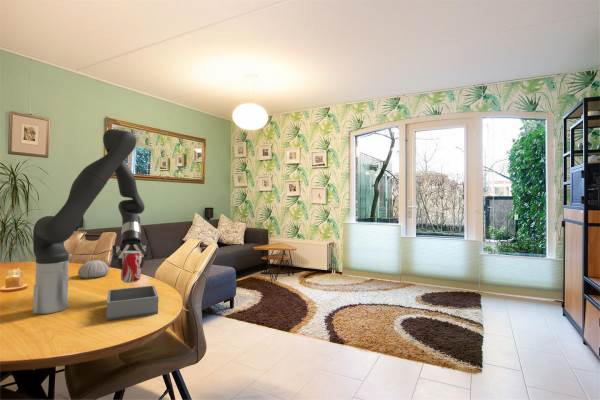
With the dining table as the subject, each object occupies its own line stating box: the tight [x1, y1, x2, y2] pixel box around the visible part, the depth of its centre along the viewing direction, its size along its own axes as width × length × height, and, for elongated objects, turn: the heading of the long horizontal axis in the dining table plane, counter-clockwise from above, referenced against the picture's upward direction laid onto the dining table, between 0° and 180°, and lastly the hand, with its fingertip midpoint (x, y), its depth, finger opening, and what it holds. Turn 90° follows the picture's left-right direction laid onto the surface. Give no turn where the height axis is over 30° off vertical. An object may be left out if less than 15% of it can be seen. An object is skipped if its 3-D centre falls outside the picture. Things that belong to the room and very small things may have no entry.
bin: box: [105, 285, 159, 322], centre depth 114 cm, size 16×16×6 cm
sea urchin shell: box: [77, 259, 110, 279], centre depth 158 cm, size 13×14×8 cm
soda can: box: [120, 250, 142, 284], centre depth 127 cm, size 7×7×12 cm
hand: (131, 267), depth 125 cm, fingers closed on soda can, 6 cm apart
